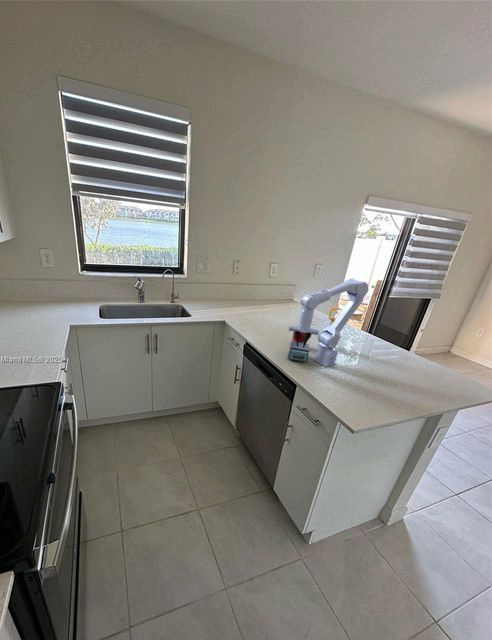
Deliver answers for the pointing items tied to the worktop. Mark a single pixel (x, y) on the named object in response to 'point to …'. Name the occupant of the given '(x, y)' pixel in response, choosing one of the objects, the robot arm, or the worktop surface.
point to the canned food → (301, 339)
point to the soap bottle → (332, 318)
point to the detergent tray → (298, 355)
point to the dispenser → (299, 348)
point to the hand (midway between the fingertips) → (300, 346)
